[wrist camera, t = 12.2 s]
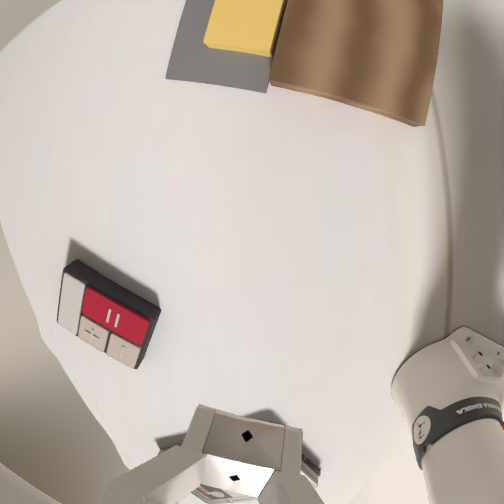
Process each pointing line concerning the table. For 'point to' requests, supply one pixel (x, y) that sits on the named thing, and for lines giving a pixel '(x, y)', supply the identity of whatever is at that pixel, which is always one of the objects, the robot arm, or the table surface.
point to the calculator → (105, 314)
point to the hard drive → (220, 496)
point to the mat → (214, 55)
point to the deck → (361, 53)
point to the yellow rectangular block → (245, 25)
